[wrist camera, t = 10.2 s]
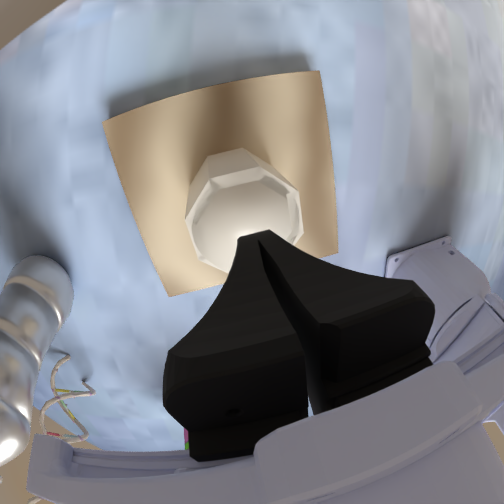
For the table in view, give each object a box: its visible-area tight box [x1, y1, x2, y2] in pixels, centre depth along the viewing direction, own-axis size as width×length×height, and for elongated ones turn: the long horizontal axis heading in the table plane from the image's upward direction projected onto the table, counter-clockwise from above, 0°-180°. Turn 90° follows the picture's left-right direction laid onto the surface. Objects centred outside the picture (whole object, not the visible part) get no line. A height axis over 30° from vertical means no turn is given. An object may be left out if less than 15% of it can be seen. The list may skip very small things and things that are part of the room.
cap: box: [185, 148, 304, 274], centre depth 15 cm, size 5×5×6 cm
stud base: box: [102, 71, 338, 297], centre depth 17 cm, size 14×14×6 cm
